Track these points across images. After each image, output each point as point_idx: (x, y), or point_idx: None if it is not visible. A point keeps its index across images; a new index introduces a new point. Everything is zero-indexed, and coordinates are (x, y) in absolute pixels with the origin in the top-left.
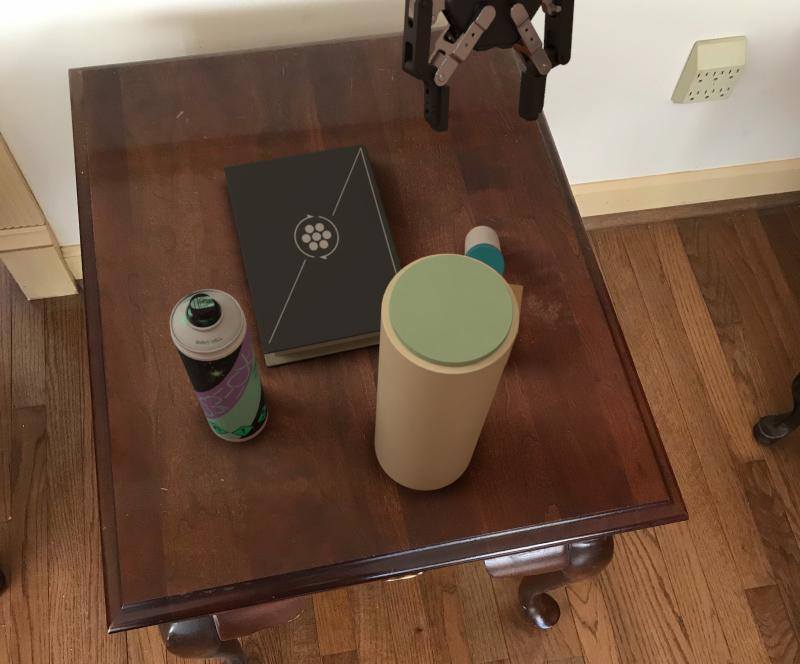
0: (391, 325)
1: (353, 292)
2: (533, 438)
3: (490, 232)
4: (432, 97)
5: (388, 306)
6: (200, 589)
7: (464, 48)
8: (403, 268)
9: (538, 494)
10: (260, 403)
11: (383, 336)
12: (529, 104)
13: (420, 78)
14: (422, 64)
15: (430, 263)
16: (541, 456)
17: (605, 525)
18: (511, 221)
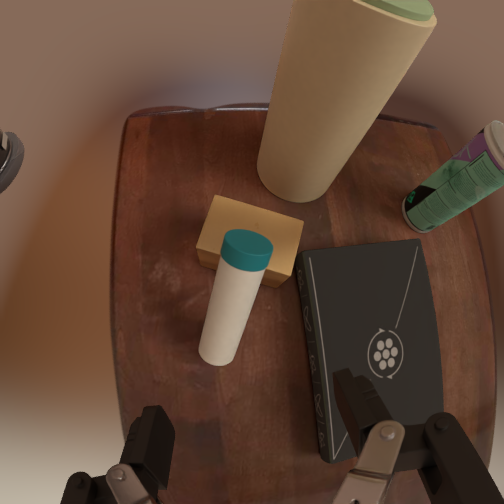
0: None
1: (358, 289)
2: (207, 160)
3: (213, 340)
4: (383, 408)
5: None
6: (413, 125)
7: (359, 495)
8: (429, 26)
9: (215, 125)
10: (421, 187)
11: None
12: (157, 429)
13: (435, 415)
14: (444, 437)
15: (408, 7)
16: (205, 147)
17: (176, 106)
18: (177, 381)
